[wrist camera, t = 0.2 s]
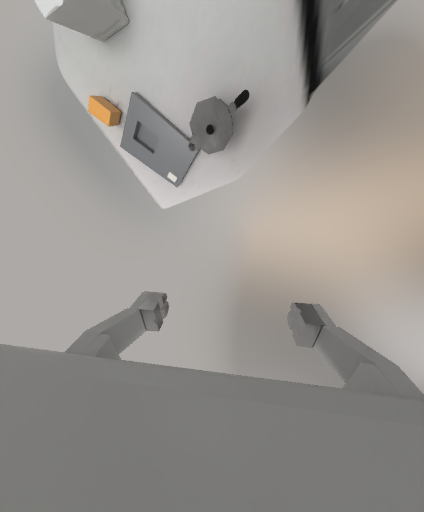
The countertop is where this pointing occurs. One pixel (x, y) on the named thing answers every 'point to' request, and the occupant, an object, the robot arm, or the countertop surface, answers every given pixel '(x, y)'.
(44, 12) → the skincare box
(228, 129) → the coffeepot
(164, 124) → the socket plate
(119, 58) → the countertop surface
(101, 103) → the plug
